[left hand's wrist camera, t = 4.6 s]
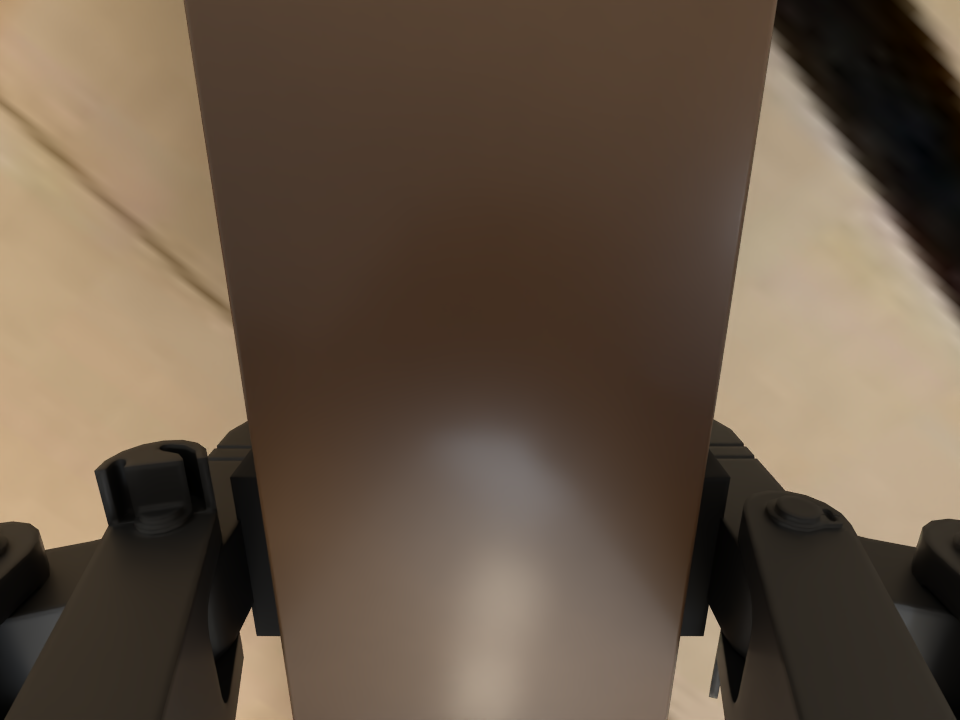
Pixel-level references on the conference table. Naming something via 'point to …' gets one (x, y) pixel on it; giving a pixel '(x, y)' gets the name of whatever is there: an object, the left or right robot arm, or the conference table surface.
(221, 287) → the conference table surface
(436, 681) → the bar
